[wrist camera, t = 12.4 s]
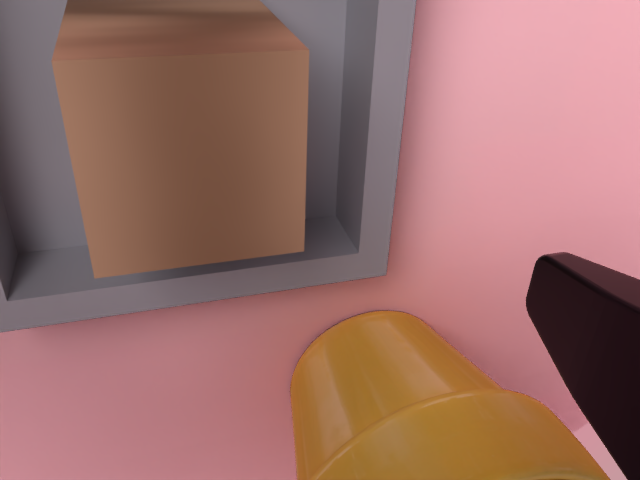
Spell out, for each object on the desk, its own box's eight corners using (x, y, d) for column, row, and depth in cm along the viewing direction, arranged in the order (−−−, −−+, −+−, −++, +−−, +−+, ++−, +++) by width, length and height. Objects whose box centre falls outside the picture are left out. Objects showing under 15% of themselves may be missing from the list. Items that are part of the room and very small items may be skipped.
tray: (-154, -199, 13) (-216, -209, 10) (385, -171, 16) (435, -175, 13) (-8, 273, 19) (-25, 336, 17) (355, 228, 22) (386, 275, 20)
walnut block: (98, 159, 18) (94, 278, 13) (69, -8, 15) (51, 60, 10) (253, 146, 19) (304, 251, 14) (249, -11, 16) (309, 49, 11)
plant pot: (483, 240, 24) (664, 429, 16) (470, 413, 30) (600, 615, 22) (226, 305, 22) (290, 556, 14) (265, 477, 28) (327, 723, 20)
